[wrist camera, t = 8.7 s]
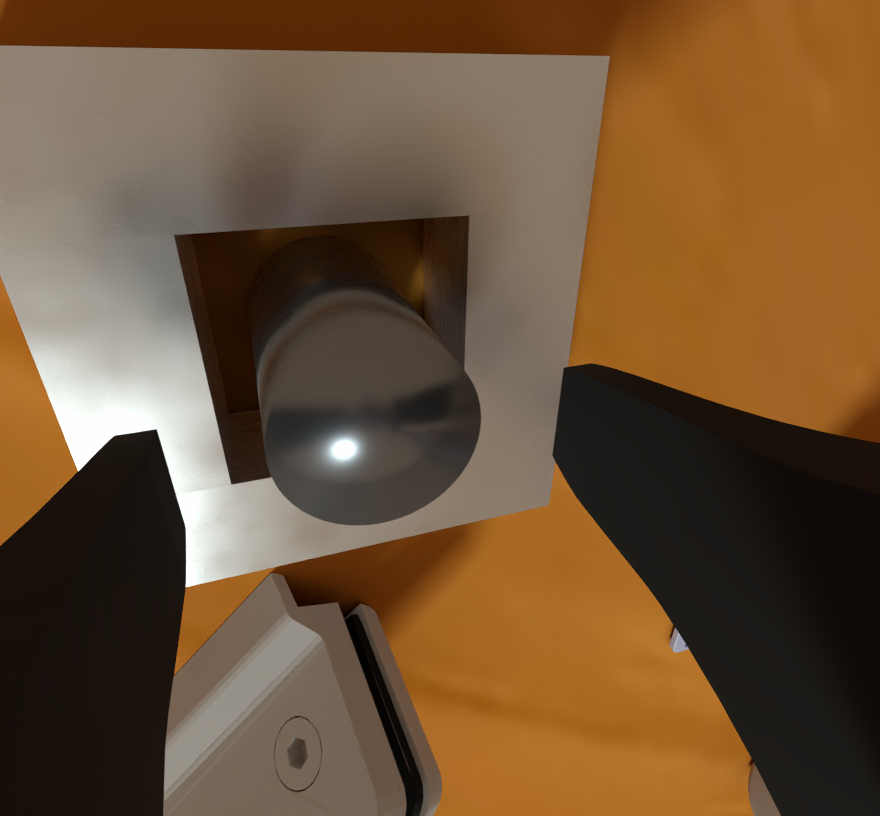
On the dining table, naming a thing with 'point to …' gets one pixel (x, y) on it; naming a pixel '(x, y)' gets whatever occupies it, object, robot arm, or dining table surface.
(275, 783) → the grey mounting bracket
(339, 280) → the peg
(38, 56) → the socket block
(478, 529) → the dining table surface
